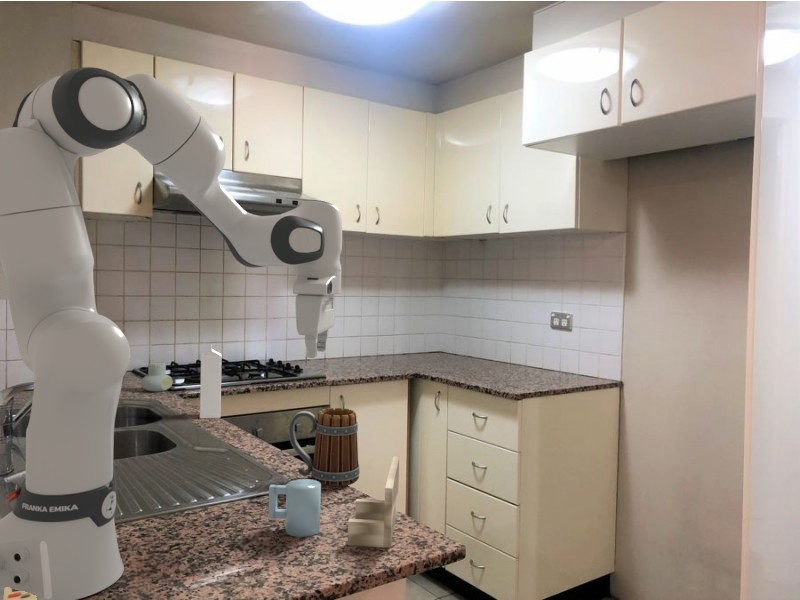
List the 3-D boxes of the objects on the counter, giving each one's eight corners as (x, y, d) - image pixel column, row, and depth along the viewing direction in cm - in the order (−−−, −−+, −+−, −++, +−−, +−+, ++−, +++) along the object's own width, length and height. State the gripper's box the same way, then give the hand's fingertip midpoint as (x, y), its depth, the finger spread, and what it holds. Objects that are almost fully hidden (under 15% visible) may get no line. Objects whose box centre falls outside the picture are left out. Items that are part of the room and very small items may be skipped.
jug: (264, 534, 105) (265, 488, 105) (273, 520, 111) (274, 477, 111) (316, 537, 105) (317, 491, 104) (322, 523, 111) (323, 480, 110)
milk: (199, 418, 184) (200, 346, 183) (200, 414, 190) (201, 343, 189) (220, 418, 186) (221, 345, 185) (220, 413, 192) (221, 343, 191)
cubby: (347, 545, 102) (349, 486, 102) (361, 504, 120) (362, 454, 120) (390, 547, 102) (392, 488, 101) (397, 506, 120) (399, 456, 119)
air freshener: (157, 394, 218) (157, 366, 217) (137, 392, 220) (137, 364, 219) (175, 388, 228) (175, 362, 228) (156, 387, 230) (156, 360, 230)
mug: (360, 472, 140) (362, 407, 139) (358, 488, 129) (360, 418, 129) (291, 470, 139) (293, 405, 139) (284, 486, 129) (286, 416, 128)
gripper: (313, 283, 131) (311, 347, 132) (290, 284, 111) (288, 360, 111) (342, 284, 131) (340, 348, 131) (324, 285, 110) (322, 362, 111)
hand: (316, 354), depth 121 cm, fingers open, 8 cm apart
